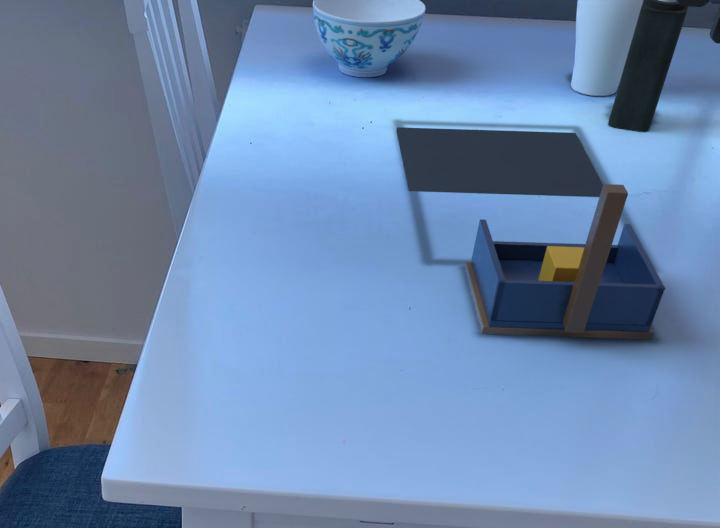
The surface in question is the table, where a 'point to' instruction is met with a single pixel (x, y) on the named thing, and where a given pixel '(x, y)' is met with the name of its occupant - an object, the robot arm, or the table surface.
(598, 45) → the cup
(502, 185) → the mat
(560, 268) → the block
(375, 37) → the chinaware
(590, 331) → the stand
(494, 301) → the tray
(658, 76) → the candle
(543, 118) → the table surface
